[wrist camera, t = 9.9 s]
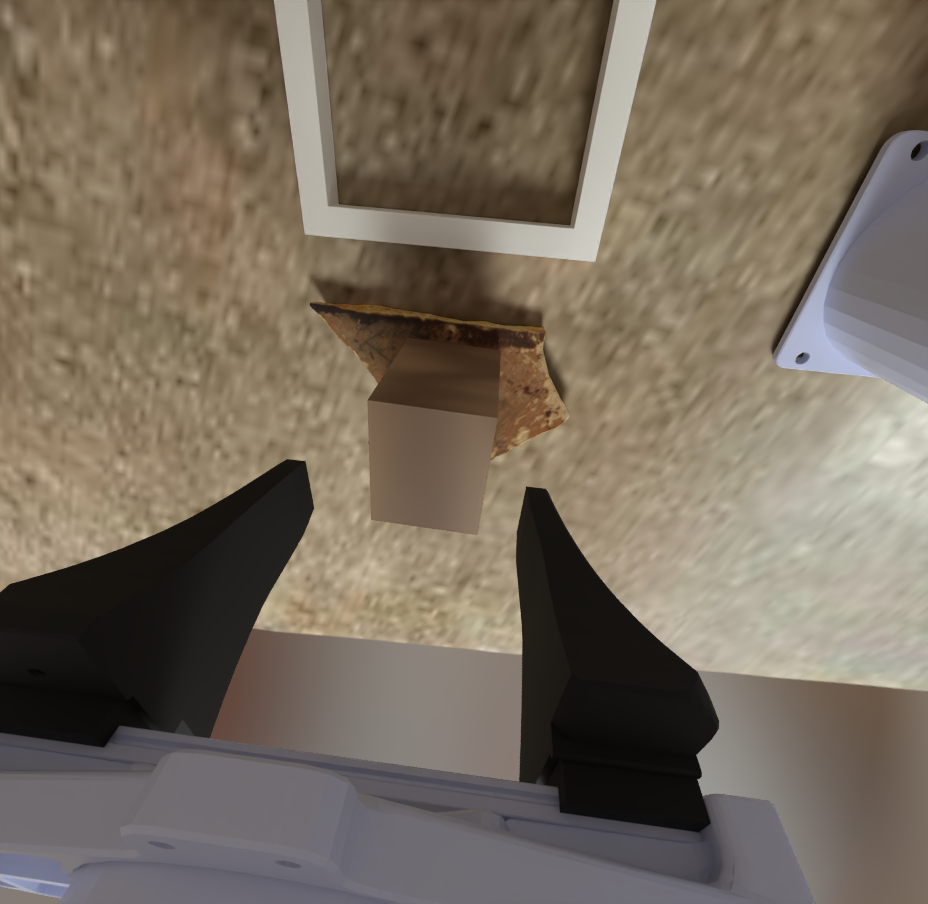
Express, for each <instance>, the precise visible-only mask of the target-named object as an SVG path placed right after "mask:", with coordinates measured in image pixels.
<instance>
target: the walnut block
mask: <svg viewBox="0 0 928 904" xmlns="http://www.w3.org/2000/svg"><path fill="white" fill-rule="evenodd" d="M500 359H501V350H496V349H489V348H482V347H474V346H467V345H459V344H452V343H445V342H437V341H430V340H422V339H415V338H407V340H406V342H405V343H404V345H403V346H402V348H401V349H400V351H399V352H398V354H397V355H396V357H395V359H394V360H393V362H392V363H391V365H390V366H389V368H388V369H387V371H386V373H385V374H384V376H383V377H382V379H381V380H380V382H379V383H378V385H377V387H376V388H375V390H374V391H373V393H372V394H371V396H370V397H369V399H368V427H369V461H370V494H371V520H376V521H383V522H390V523H397V524H404V525H411V526H418V527H425V528H432V529H439V530H446V531H453V532H460V533H467V534H474V535H477V534H478V528H479V523H480V517H481V511H482V505H483V500H484V494H485V488H486V482H487V477H488V471H489V465H490V459H491V454H492V448H493V442H494V437H495V431H496V425H497V419H498V401H499V380H500Z"/></svg>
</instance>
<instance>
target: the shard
mask: <svg viewBox="0 0 928 904" xmlns="http://www.w3.org/2000/svg"><path fill="white" fill-rule="evenodd" d="M310 306H311V307H312V309H314V310H315V311H316V312H317V313H318V315H319V316H321V317H322V318H323V319H324V320H325V322H326V323H327V324H328V325H329V327H330V328H331V329H332V330H333V331H334V332H335V334H336V335H337V336H338V338H339V339H341V340H342V342H344V343H345V344H346V345H347V346H348V347H349V348H350V349H351V350H353V351H354V353H355V354H356V356H357V357H358V358H359V359H360V360H361V361H362V363H363V364H364V365H365V366H366V368H367V369H368V370H369V371H370V373H371V374H372V375H373V377H374V378H375V379H376V381H377V382H378V383H379V382H380V380H381V379H382V377H383V376H384V374H385V373H386V371H387V369H388V368H389V366H390V365H391V363H392V362H393V360H394V359H395V357H396V355H397V354H398V352H399V351H400V349H401V348H402V346H403V345H404V343H405V342H406V340H407V338H415V339H422V340H430V341H437V342H445V343H452V344H459V345H467V346H474V347H482V348H489V349H496V350H501V359H500V380H499V401H498V419H497V425H496V431H495V437H494V442H493V448H492V454H491V459H490V461H491V460H493V459H494V458H496V457H498V456H500V455H502V454H504V453H506V452H508V451H510V450H511V449H512V448H514V447H516V446H519V445H521V444H522V443H525V442H527V441H528V440H530V439H532V438H534V437H535V436H537V435H540V434H542V433H545V432H547V431H550V430H552V429H554V428H557V427H559V426H560V425H562V424H564V422H565V421H566V420H567V419H568V418H569V417H570V413H569V411H568V410H567V408H566V406H565V404H564V403H563V401H562V400H561V398H560V396H559V394H558V392H557V390H556V388H555V386H554V384H553V382H552V380H551V378H550V376H549V374H548V368H547V365H546V362H545V356H544V352H543V343H544V340H545V330H544V328H543V327H532V326H504V325H499V324H493V323H490V322H487V321H460V320H457V319H450V318H445V317H440V316H437V315H432V314H428V313H419V312H413V311H407V310H402V309H392V308H390V307H384V306H380V305H364V304H361V305H349V304H337V305H336V304H329V303H322V302H314V303H310Z"/></svg>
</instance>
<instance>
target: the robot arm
mask: <svg viewBox="0 0 928 904" xmlns="http://www.w3.org/2000/svg"><path fill="white" fill-rule="evenodd" d="M919 143H920V145H921V149H920V152H919V153H918V154H917V156H916V157H915V158H913V159H911V153H912V150H913V149H914V147H915V146H916V145H917V144H919ZM801 353H804V355H803V357H802V358H801V359H799V360H797V361H795V360H796V357H797V356H798V355H799V354H801ZM772 358H773V362H774V363H775V364H776V365H778V366H779V367H782V368H789V369H799V370H809V371H819V372H828V373H838V374H848V375H858V376H868V377H878V378H882V379H884V380H885V381H887V382H889V383H891V384H893V385H895V386H896V387H898V388H900V389H902V390H904V391H906V392H907V393H909V394H911V395H913V396H915V397H917V398H918V399H920V400H922V401H924V402H926V403H928V131H921V130H910V131H902V132H899V133H897V134H895V135H893V136H892V137H890V138H889V139H888V140H887V141H886V142H885V143H884V145H883V146H882V148H881V149H880V151H879V153H878V155H877V157H876V159H875V161H874V163H873V165H872V166H871V168H870V170H869V172H868V174H867V176H866V178H865V180H864V182H863V184H862V186H861V187H860V189H859V191H858V193H857V195H856V197H855V199H854V201H853V203H852V205H851V207H850V208H849V210H848V212H847V214H846V216H845V218H844V220H843V222H842V224H841V226H840V228H839V229H838V231H837V233H836V235H835V237H834V239H833V241H832V243H831V245H830V247H829V248H828V250H827V252H826V254H825V256H824V258H823V260H822V262H821V264H820V266H819V268H818V269H817V271H816V273H815V275H814V277H813V279H812V281H811V283H810V285H809V287H808V289H807V290H806V292H805V294H804V296H803V298H802V300H801V302H800V304H799V306H798V308H797V310H796V311H795V313H794V315H793V317H792V319H791V321H790V323H789V325H788V327H787V329H786V331H785V332H784V334H783V336H782V338H781V340H780V342H779V344H778V346H777V348H776V350H775V352H774V354H773V357H772ZM313 510H314V505H313V499H312V494H311V489H310V483H309V478H308V472H307V467H306V462H305V461H298V460H289V459H287V460H285V461H283V462H282V463H280V464H278V465H277V466H275V467H274V468H272V469H270V470H269V471H267V472H266V473H264V474H263V475H261V476H260V477H258V478H256V479H255V480H253V481H252V482H250V483H249V484H247V485H245V486H244V487H242V488H241V489H239V490H238V491H236V492H234V493H233V494H231V495H229V496H228V497H226V498H224V499H223V500H221V501H219V502H217V503H216V504H214V505H212V506H210V507H209V508H207V509H205V510H204V511H202V512H200V513H198V514H196V515H194V516H193V517H191V518H189V519H187V520H185V521H183V522H181V523H179V524H177V525H175V526H172V527H170V528H168V529H166V530H164V531H162V532H160V533H158V534H155V535H153V536H150V537H148V538H146V539H143V540H141V541H138V542H136V543H134V544H131V545H129V546H126V547H124V548H122V549H119V550H116V551H114V552H111V553H108V554H105V555H103V556H100V557H97V558H94V559H91V560H88V561H85V562H83V563H80V564H77V565H73V566H70V567H67V568H64V569H61V570H57V571H54V572H51V573H47V574H44V575H40V576H37V577H33V578H30V579H27V580H23V581H19V582H16V583H12V584H10V585H8V586H7V587H6V588H5V589H4V590H2V591H1V592H0V886H1V887H6V888H11V889H16V890H21V891H26V892H32V893H36V894H42V895H47V896H52V897H57V898H61V900H60V901H59V903H58V904H816V903H815V901H814V899H813V896H812V894H811V892H810V889H809V887H808V884H807V882H806V880H805V877H804V875H803V872H802V870H801V868H800V865H799V863H798V861H797V858H796V856H795V853H794V851H793V849H792V846H791V844H790V841H789V839H788V837H787V834H786V832H785V830H784V827H783V825H782V822H781V820H780V818H779V815H778V813H777V810H776V808H775V806H774V804H772V803H771V802H770V801H767V800H761V799H753V798H746V797H738V796H732V795H724V794H710V795H705V796H702V793H701V790H700V787H699V783H698V781H697V779H700V778H701V776H702V772H701V769H700V765H699V762H698V759H697V756H696V754H698V753H699V752H700V751H701V750H702V748H704V747H705V746H706V745H707V743H709V742H710V740H711V739H712V738H713V736H714V735H715V734H716V732H717V730H718V729H719V720H718V717H717V715H716V712H715V709H714V707H713V704H712V701H711V699H710V697H709V695H708V692H707V690H706V688H705V686H704V685H703V682H702V680H701V678H700V676H699V674H698V672H697V671H696V670H694V669H693V668H692V667H691V666H690V665H688V664H687V663H686V662H685V661H683V660H682V659H681V658H680V657H679V656H677V655H676V654H675V653H674V652H672V651H671V650H670V649H669V648H668V647H666V646H665V645H664V644H663V643H662V642H661V641H660V640H658V639H657V638H656V637H655V636H654V635H653V634H652V633H651V632H650V631H649V630H648V629H647V628H645V627H644V626H643V625H642V624H641V623H640V622H639V621H638V620H637V619H636V618H635V617H634V616H633V615H632V614H631V613H630V611H629V610H628V609H627V608H626V607H625V606H624V605H623V604H622V603H621V602H620V601H619V600H618V599H617V598H616V597H615V595H614V594H613V593H612V592H611V591H610V590H609V588H608V587H607V586H606V585H605V584H604V582H603V581H602V580H601V579H600V577H599V576H598V575H597V574H596V572H595V571H594V570H593V568H592V567H591V565H590V564H589V563H588V561H587V560H586V558H585V557H584V555H583V554H582V552H581V551H580V549H579V548H578V546H577V545H576V543H575V542H574V540H573V538H572V537H571V535H570V533H569V532H568V530H567V528H566V527H565V525H564V523H563V521H562V519H561V518H560V516H559V514H558V512H557V510H556V508H555V506H554V504H553V502H552V500H551V497H550V495H549V493H548V491H547V490H546V489H542V488H534V487H526V491H525V496H524V500H523V505H522V510H521V515H520V520H519V525H518V530H517V546H516V565H517V577H518V588H519V599H520V610H521V621H522V639H523V642H522V656H523V657H522V714H521V715H522V716H521V717H522V718H521V749H520V777H519V782H517V781H510V780H503V779H495V778H489V777H482V776H474V775H467V774H460V773H453V772H445V771H439V770H432V769H425V768H417V767H410V766H403V765H396V764H389V763H381V762H375V761H368V760H361V759H353V758H346V757H338V756H332V755H324V754H318V753H311V752H303V751H296V750H289V749H282V748H275V747H268V746H261V745H254V744H247V743H239V742H232V741H225V740H218V739H211V738H210V736H211V733H212V730H213V727H214V724H215V722H216V719H217V716H218V713H219V710H220V707H221V705H222V701H223V699H224V697H225V694H226V691H227V689H228V686H229V684H230V681H231V679H232V676H233V673H234V671H235V668H236V665H237V663H238V661H239V659H240V656H241V654H242V651H243V649H244V646H245V644H246V642H247V639H248V637H249V635H250V632H251V630H252V628H253V626H254V624H255V622H256V619H257V617H258V615H259V613H260V611H261V608H262V606H263V604H264V602H265V601H266V599H267V597H268V595H269V593H270V591H271V590H272V588H273V586H274V584H275V583H276V581H277V579H278V578H279V576H280V574H281V573H282V571H283V569H284V567H285V566H286V564H287V562H288V561H289V559H290V557H291V556H292V554H293V552H294V550H295V549H296V547H297V545H298V543H299V542H300V540H301V538H302V536H303V534H304V532H305V530H306V527H307V525H308V523H309V520H310V517H311V515H312V512H313Z"/></svg>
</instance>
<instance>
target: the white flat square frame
mask: <svg viewBox="0 0 928 904" xmlns="http://www.w3.org/2000/svg"><path fill="white" fill-rule="evenodd" d="M655 4H656V0H613V6H612V11H611V16H610V21H609V26H608V31H607V37H606V42H605V47H604V52H603V57H602V63H601V68H600V73H599V78H598V83H597V88H596V94H595V99H594V104H593V109H592V114H591V120H590V125H589V130H588V135H587V140H586V145H585V151H584V156H583V161H582V166H581V171H580V177H579V182H578V187H577V192H576V197H575V202H574V208H573V213H572V218H571V223H570V225H560V224H549V223H538V222H527V221H516V220H505V219H494V218H483V217H472V216H461V215H450V214H439V213H428V212H417V211H407V210H396V209H385V208H374V207H363V206H352V205H341V204H339V199H338V188H337V177H336V165H335V154H334V142H333V131H332V120H331V108H330V97H329V85H328V74H327V62H326V51H325V40H324V28H323V17H322V5H321V0H274V5H275V12H276V20H277V27H278V35H279V43H280V50H281V58H282V65H283V73H284V80H285V88H286V95H287V103H288V110H289V118H290V125H291V133H292V140H293V148H294V155H295V163H296V170H297V178H298V185H299V193H300V200H301V208H302V216H303V223H304V231H305V235H315V236H326V237H337V238H347V239H358V240H369V241H379V242H390V243H401V244H411V245H422V246H433V247H443V248H454V249H465V250H476V251H486V252H497V253H508V254H518V255H529V256H540V257H550V258H561V259H572V260H582V261H593V262H595V260H596V256H597V252H598V248H599V243H600V239H601V235H602V230H603V226H604V222H605V218H606V213H607V209H608V205H609V201H610V196H611V192H612V188H613V183H614V179H615V175H616V171H617V166H618V162H619V158H620V154H621V149H622V145H623V141H624V136H625V132H626V128H627V124H628V119H629V115H630V111H631V107H632V102H633V98H634V94H635V89H636V85H637V81H638V77H639V72H640V68H641V64H642V60H643V55H644V51H645V47H646V42H647V38H648V34H649V30H650V25H651V21H652V17H653V13H654V8H655Z"/></svg>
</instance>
